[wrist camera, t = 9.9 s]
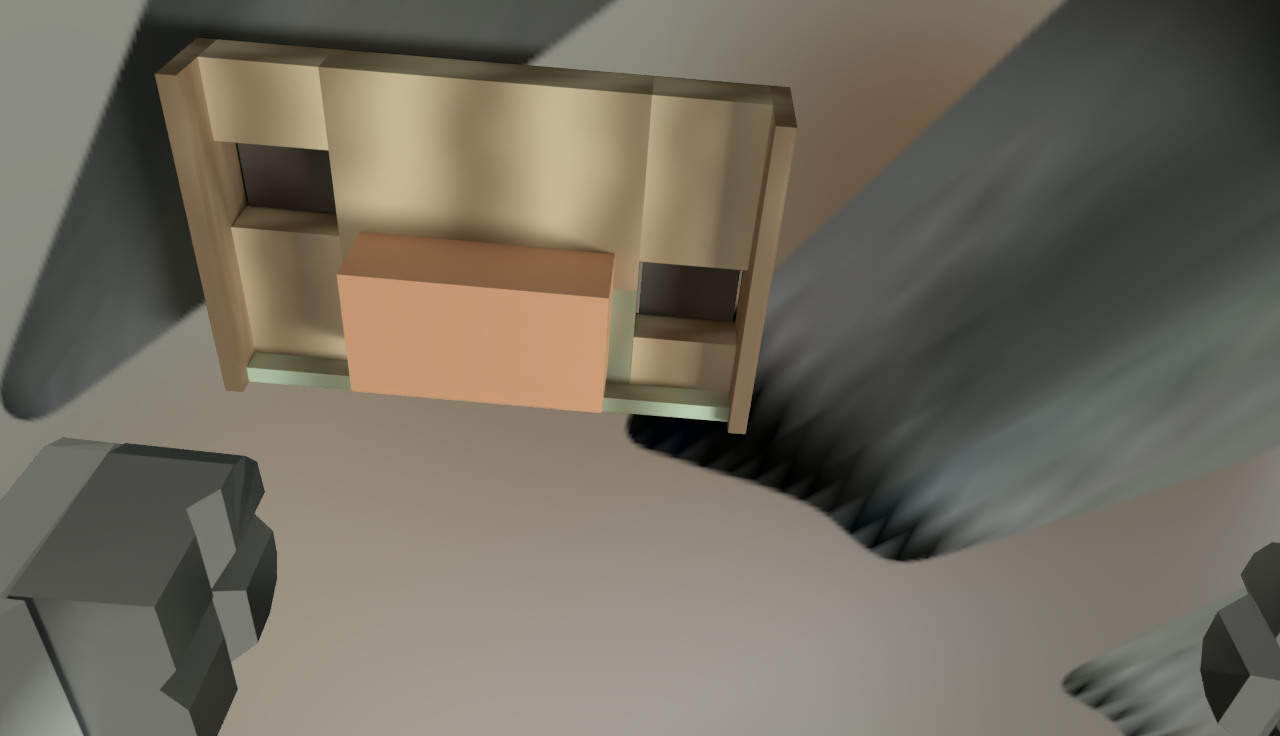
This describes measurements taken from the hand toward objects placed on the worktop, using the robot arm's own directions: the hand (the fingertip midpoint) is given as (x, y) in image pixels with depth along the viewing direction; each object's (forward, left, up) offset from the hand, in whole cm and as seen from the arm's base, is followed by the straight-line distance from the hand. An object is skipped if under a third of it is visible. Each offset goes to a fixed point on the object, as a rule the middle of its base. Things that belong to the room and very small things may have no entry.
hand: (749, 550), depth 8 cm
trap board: (+8, +16, -34) cm, 39 cm away
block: (+8, +19, -32) cm, 38 cm away
